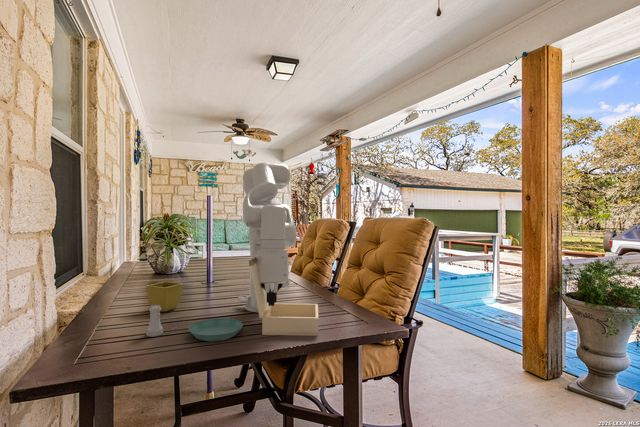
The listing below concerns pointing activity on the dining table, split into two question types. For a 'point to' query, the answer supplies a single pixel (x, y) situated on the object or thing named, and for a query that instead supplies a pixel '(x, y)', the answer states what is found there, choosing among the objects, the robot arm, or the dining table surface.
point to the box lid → (258, 289)
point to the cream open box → (290, 319)
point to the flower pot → (164, 295)
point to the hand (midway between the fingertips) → (271, 304)
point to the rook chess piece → (154, 322)
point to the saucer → (216, 329)
